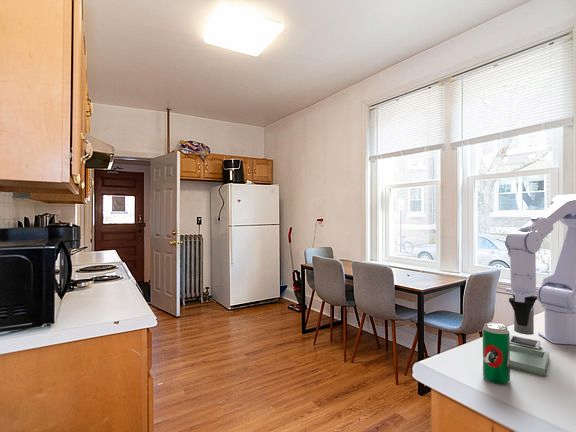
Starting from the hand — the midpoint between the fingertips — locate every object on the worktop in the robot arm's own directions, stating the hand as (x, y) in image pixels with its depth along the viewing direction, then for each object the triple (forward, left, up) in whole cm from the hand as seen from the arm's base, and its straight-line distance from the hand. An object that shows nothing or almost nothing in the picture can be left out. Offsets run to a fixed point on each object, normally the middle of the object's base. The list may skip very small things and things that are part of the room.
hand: (523, 323), depth 90 cm
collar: (0, 0, -7) cm, 7 cm away
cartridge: (0, 0, -2) cm, 2 cm away
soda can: (+15, +22, -7) cm, 28 cm away
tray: (+6, +10, -7) cm, 13 cm away
